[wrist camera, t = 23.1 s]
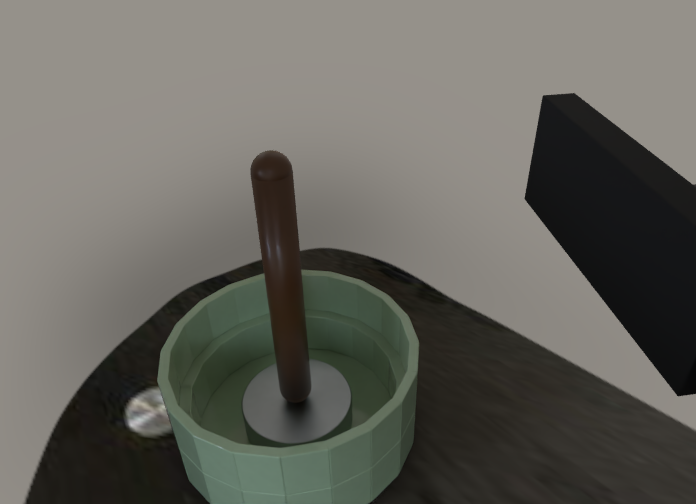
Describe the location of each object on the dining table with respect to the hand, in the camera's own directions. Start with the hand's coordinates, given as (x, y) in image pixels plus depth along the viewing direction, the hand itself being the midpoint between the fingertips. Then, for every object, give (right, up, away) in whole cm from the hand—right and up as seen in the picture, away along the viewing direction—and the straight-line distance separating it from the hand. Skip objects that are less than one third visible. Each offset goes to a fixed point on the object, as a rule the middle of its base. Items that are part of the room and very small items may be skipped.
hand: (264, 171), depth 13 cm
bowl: (-1, -13, +25) cm, 29 cm away
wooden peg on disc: (-1, -13, +25) cm, 28 cm away
